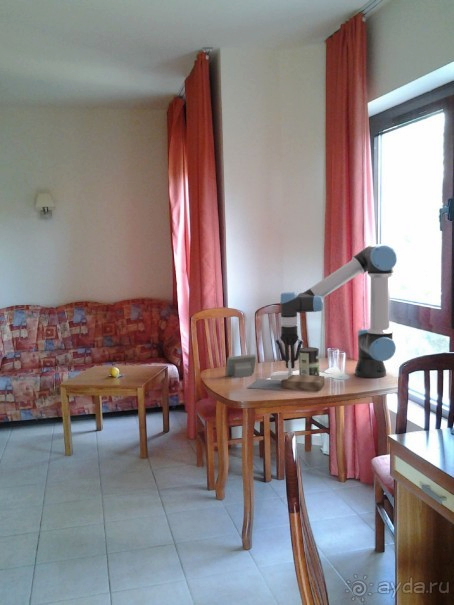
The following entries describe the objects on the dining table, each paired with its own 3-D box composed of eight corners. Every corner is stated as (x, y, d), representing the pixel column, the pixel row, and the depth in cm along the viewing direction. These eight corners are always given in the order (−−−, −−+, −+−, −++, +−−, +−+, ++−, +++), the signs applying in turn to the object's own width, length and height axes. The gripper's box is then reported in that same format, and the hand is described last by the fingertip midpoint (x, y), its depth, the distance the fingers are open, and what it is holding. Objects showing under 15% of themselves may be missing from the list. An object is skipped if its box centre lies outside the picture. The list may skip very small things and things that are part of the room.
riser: (324, 384, 250) (324, 376, 250) (319, 391, 239) (319, 382, 239) (287, 382, 257) (287, 374, 256) (281, 389, 246) (281, 380, 245)
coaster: (291, 375, 254) (290, 370, 253) (287, 379, 246) (286, 374, 246) (275, 375, 256) (274, 371, 256) (270, 380, 249) (270, 375, 249)
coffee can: (319, 374, 270) (319, 347, 268) (319, 379, 260) (318, 351, 258) (299, 374, 272) (298, 347, 271) (298, 379, 262) (297, 351, 261)
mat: (288, 381, 259) (288, 380, 259) (280, 390, 244) (280, 389, 244) (257, 379, 264) (257, 378, 264) (247, 388, 249) (247, 387, 249)
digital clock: (255, 372, 280) (254, 352, 279) (258, 376, 271) (257, 355, 270) (224, 374, 278) (223, 354, 277) (227, 378, 269) (226, 358, 268)
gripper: (304, 324, 248) (305, 373, 251) (277, 324, 253) (279, 372, 255) (301, 327, 241) (302, 377, 244) (273, 326, 246) (275, 376, 248)
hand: (290, 374), depth 249 cm, fingers closed
